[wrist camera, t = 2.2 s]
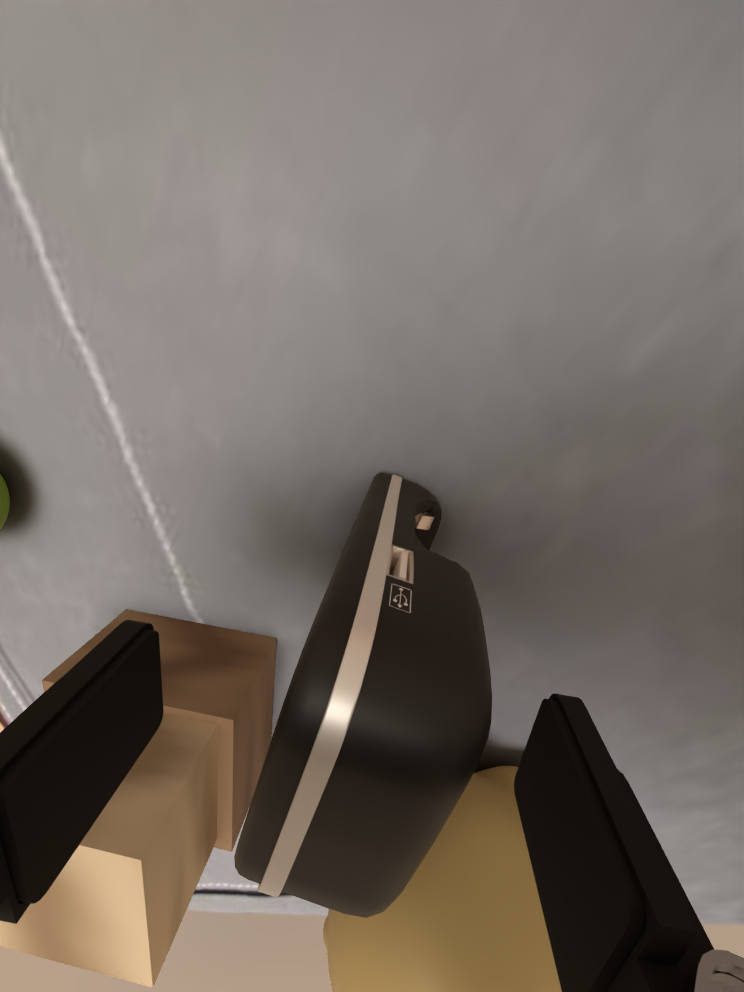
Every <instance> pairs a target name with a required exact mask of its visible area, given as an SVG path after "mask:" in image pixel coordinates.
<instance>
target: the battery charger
mask: <svg viewBox="0 0 744 992" xmlns="http://www.w3.org/2000/svg"><path fill="white" fill-rule="evenodd" d="M440 519H441V509H440V505H439V503H438V501H437V500H436V499H435V497H434V496H433V495H431V494H430V493H429V492H428V491H426V490H425V489H423V488H421V487H420V486H418V485H416V484H413V483H410V482H408V481H405V480H402V477H400V476H397V475H394V474H393V475H392V476H390V475H387V474H384V473H380V474H377V475H376V476H375V477H374V479H373V481H372V483H371V486H370V488H369V491H368V493H367V496H366V498H365V500H364V503H363V505H362V507H361V510H360V512H359V514H358V517H357V519H356V521H355V524H354V526H353V528H352V531H351V533H350V536H349V538H348V540H347V543H346V545H345V547H344V550H343V552H342V555H341V557H340V559H339V562H338V564H337V567H336V569H335V571H334V574H333V576H332V579H331V581H330V583H329V586H328V588H327V591H326V593H325V595H324V598H323V600H322V603H321V605H320V608H319V610H318V612H317V615H316V617H315V620H314V622H313V625H312V627H311V630H310V632H309V635H308V637H307V640H306V643H305V645H304V648H303V650H302V653H301V656H300V658H299V661H298V664H297V667H296V669H295V672H294V675H293V677H292V680H291V683H290V686H289V689H288V692H287V694H286V697H285V700H284V703H283V706H282V709H281V712H280V715H279V718H278V721H277V724H276V727H275V730H274V734H273V737H272V740H271V743H270V746H269V749H268V752H267V755H266V758H265V761H264V764H263V767H262V770H261V773H260V776H259V779H258V782H257V786H256V789H255V792H254V795H253V798H252V801H251V804H250V807H249V810H248V814H247V817H246V820H245V823H244V826H243V829H242V832H241V835H240V839H239V842H238V845H237V849H236V853H235V857H234V858H235V868H236V869H237V871H238V873H239V874H240V875H241V876H243V877H245V878H246V879H248V880H251V881H254V882H257V883H259V887H258V891H259V892H262V893H265V894H268V895H271V896H273V897H278V896H279V895H280V893H281V891H282V892H285V893H287V894H290V895H293V896H296V897H299V898H301V899H304V900H307V901H310V902H312V903H315V904H318V905H321V906H324V907H326V908H329V909H332V910H335V911H338V912H340V913H343V914H347V915H353V916H359V917H364V918H368V917H370V916H373V915H376V914H379V913H382V912H384V911H385V910H386V909H387V908H388V907H389V906H390V905H391V904H392V903H393V902H394V901H395V900H396V899H397V897H398V896H399V895H400V894H401V893H402V891H403V890H404V889H405V887H406V885H407V884H408V882H409V881H410V879H411V878H412V876H413V874H414V873H415V871H416V870H417V868H418V867H419V865H420V864H421V862H422V860H423V859H424V857H425V856H426V854H427V853H428V851H429V849H430V848H431V846H432V845H433V843H434V842H435V840H436V838H437V836H438V835H439V833H440V831H441V830H442V828H443V826H444V824H445V823H446V821H447V819H448V818H449V816H450V814H451V812H452V811H453V809H454V807H455V806H456V804H457V802H458V800H459V799H460V797H461V795H462V794H463V792H464V790H465V788H466V787H467V785H468V783H469V781H470V779H471V777H472V775H473V773H474V771H475V769H476V767H477V765H478V763H479V761H480V758H481V756H482V753H483V750H484V747H485V744H486V742H487V739H488V735H489V730H490V724H491V710H492V690H491V676H490V668H489V660H488V652H487V645H486V639H485V632H484V626H483V620H482V614H481V609H480V606H479V602H478V599H477V596H476V593H475V590H474V586H473V583H472V580H471V577H470V575H469V573H468V572H467V571H466V570H465V569H463V568H462V567H461V566H460V565H459V564H458V563H456V562H453V561H451V560H449V559H447V558H445V557H443V556H440V555H438V554H435V553H432V552H429V549H430V546H431V544H432V542H433V539H434V537H435V534H436V532H437V529H438V526H439V523H440Z"/></svg>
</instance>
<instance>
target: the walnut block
mask: <svg viewBox="0 0 744 992" xmlns="http://www.w3.org/2000/svg"><path fill="white" fill-rule="evenodd" d="M125 620H133V621H139V622H145V623H150V624H152V625H153V627H154V631H157V632H158V633H159V642H160V659H161V677H162V694H163V711H164V713H169V714H173V715H178V716H182V717H187V718H191V719H196V720H200V721H205V722H210V723H214V724H218V762H217V840H216V842H215V845H214V847H215V848H219V849H223V850H227V851H232V850H233V847H234V845H235V842H236V840H237V837H238V835H239V832H240V829H241V827H242V824H243V822H244V819H245V817H246V814H247V811H248V809H249V806H250V804H251V801H252V798H253V795H254V792H255V789H256V786H257V782H258V779H259V776H260V773H261V770H262V767H263V764H264V761H265V758H266V755H267V752H268V749H269V746H270V743H271V731H272V714H273V696H274V678H275V660H276V642H277V638H274V637H268V636H263V635H258V634H253V633H247V632H242V631H237V630H232V629H226V628H221V627H216V626H211V625H205V624H200V623H195V622H190V621H184V620H179V619H174V618H169V617H163V616H158V615H153V614H148V613H142V612H137V611H132V610H127V609H126V610H125V611H124V612H123V613H121V614H120V615H119V616H118V617H117V618H115V619H114V620H113V621H112V622H111V623H110V624H108V625H107V626H106V627H105V628H104V629H102V630H101V631H100V632H99V633H98V634H96V635H95V636H94V637H93V638H92V639H91V640H89V641H88V642H87V643H86V644H85V645H83V646H82V647H81V648H80V649H79V650H77V651H76V652H75V653H74V654H73V655H71V656H70V657H69V658H68V659H67V660H66V661H64V662H63V663H62V664H61V665H60V666H58V667H57V668H56V669H55V670H54V671H52V672H51V673H50V674H49V675H48V676H46V677H45V678H44V679H43V680H42V683H43V688H44V692H45V691H47V690H48V689H49V688H50V687H51V686H52V685H53V684H54V683H55V682H56V681H58V680H59V679H60V678H61V677H63V676H64V675H65V674H66V673H67V672H68V671H69V670H70V669H71V668H72V667H74V666H75V665H76V664H77V663H78V662H79V661H80V660H81V659H82V658H83V657H84V656H86V655H87V654H88V653H89V652H90V651H91V650H92V649H93V648H94V647H95V646H96V645H98V644H99V643H100V642H101V641H102V640H103V639H104V638H105V637H106V636H107V635H109V634H110V633H111V632H112V631H113V630H114V629H115V628H116V627H117V626H118V625H119V624H121V623H122V622H123V621H125Z"/></svg>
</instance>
